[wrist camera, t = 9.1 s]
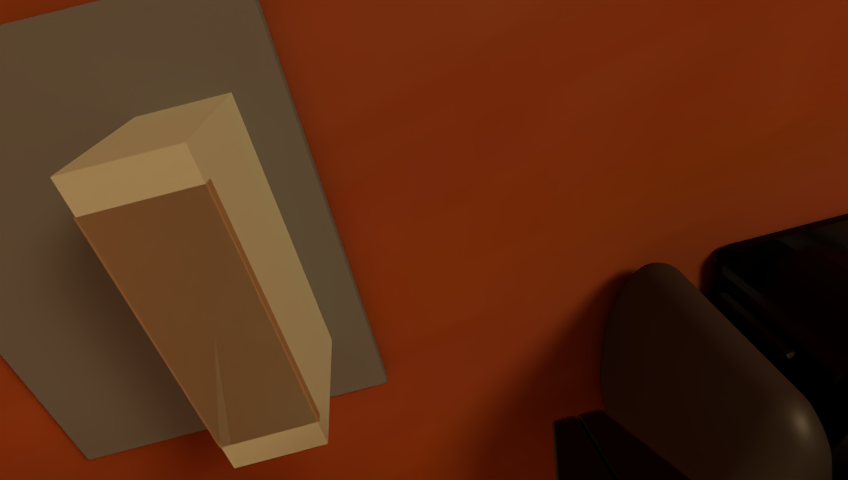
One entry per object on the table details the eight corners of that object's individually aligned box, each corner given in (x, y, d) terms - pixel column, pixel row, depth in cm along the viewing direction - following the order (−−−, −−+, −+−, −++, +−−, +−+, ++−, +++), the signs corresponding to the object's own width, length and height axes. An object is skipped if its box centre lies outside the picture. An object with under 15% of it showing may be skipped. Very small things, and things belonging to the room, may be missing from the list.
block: (233, 91, 15) (187, 141, 11) (333, 340, 20) (329, 443, 16) (133, 117, 15) (47, 177, 11) (257, 360, 20) (233, 468, 16)
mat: (246, -35, 14) (242, -35, 14) (386, 372, 22) (387, 382, 22) (-207, 77, 14) (-229, 81, 14) (94, 448, 22) (88, 460, 21)
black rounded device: (555, 283, 21) (673, 489, 13) (661, 240, 21) (856, 426, 12) (634, 496, 29) (739, 709, 21) (713, 468, 28) (854, 676, 20)
